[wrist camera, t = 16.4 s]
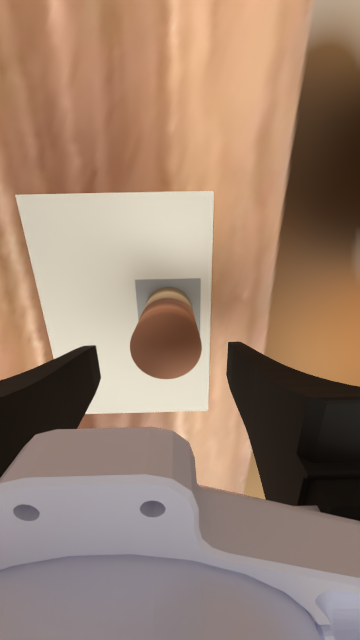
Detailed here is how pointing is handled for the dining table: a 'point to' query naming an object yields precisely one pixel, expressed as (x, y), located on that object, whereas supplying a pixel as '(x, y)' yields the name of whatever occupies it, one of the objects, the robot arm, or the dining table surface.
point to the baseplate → (122, 283)
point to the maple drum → (168, 296)
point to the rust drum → (166, 340)
